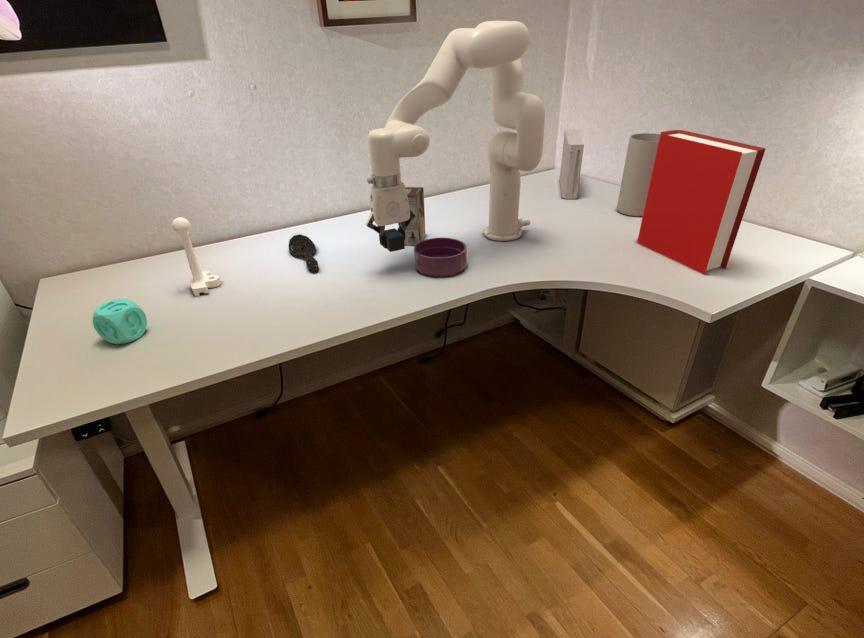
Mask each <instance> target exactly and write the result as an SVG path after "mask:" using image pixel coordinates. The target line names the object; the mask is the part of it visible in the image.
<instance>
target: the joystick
mask: <svg viewBox="0 0 864 638" xmlns="http://www.w3.org/2000/svg"><path fill="white" fill-rule="evenodd" d="M171 229H172V230H173V231H174V233H176V234H177V235H178V236H179V238H180V240H181V242H182V245H183V249H184V252H185V256H186V259H187V262H188V265H189V269H190V273H191V275H192V278H191V279H190V287H191V290H192V294H193V295H194V297H200V296H201V295H200V294H201V293H203V294H208V293H209V289H210V288H211V289H213V288H218V287H219V286H220V285H221V283H222V281H221V278H220V276H219V275H217V274H211V272H210V270H204V271H202V269H201V266H200V264H199V260H198V258H197V255H196V251H195V249H194V247H193V244H192V241H191V238H190V235H189V234H190V232H191V229H192V226H191V223H190V221H189V220H188V219H187V218H185V217H181V216H180V217H176V218H174V219H173V220H172V223H171Z"/></svg>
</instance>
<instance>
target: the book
mask: <svg viewBox="0 0 864 638" xmlns="http://www.w3.org/2000/svg"><path fill="white" fill-rule="evenodd" d="M659 134H660V138H659V143H658V148H657V152H656V157H655V162H654V166H653V171H652V175H651V180H650V185H649V189H648V194H647V199H646V203H645V208H644V212H643V216H641V217H642V218H641V222H640V227H639V232H638V235H637V241H636V243H637V244H639V245H641V246H644V247H645V248H647V249H650V250H652V251H654V252H656V253H657V254H659V255H662V256H664V257H666V258H668V259H670V260H673V261H674V262H677V263H679V264H681V265H683V266H685V267H688V268H690V269H691V270H693V271H696V272H698V273H700V274H702V275H706V271H711V270H715V269H717V268H722V269H725V270H726V269H727V266H728V263H729V260H730V258H731V254H732V251H733V248H734V245H735V242H736V239H737V236H738V233H739V230H740V227H741V224H742V222H743V221H742V220H743V218H744V216H745V212H746V209H747V206H748V203H749V200H750V197H751V194H752V192H753V188H754V186H755V181H756V180H757V177H758V173H759V171H760V168H761V164H762V161H763V158H764V155H765V152H766V149H767V148H766V147H762V146H757V145H752V144H748V143H743V142H739V141H734V140H730V139H725V138H721V137H714V136H711V135H706V134H702V133H698V132H697V133H696V132H692V131H689V130H688V131H687V130H685V129H684V130H683V129H673V130H666V131H661V132H660V133H659Z"/></svg>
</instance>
